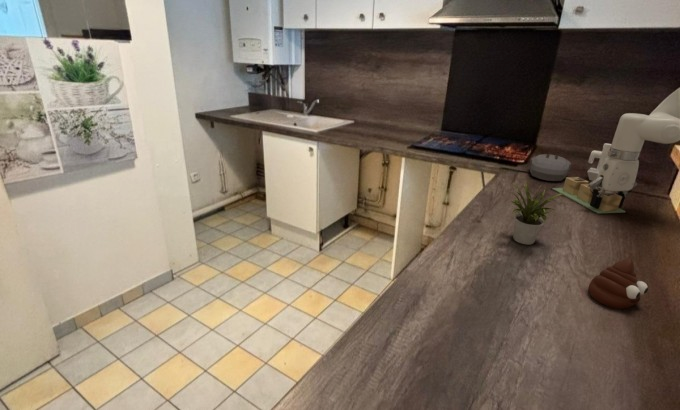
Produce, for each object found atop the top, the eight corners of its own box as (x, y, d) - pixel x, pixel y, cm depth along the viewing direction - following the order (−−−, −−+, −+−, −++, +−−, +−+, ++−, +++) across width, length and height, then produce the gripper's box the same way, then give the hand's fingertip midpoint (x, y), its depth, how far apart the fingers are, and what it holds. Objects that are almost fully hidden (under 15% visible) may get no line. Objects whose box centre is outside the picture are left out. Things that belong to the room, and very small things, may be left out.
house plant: (480, 236, 99) (492, 180, 92) (505, 222, 107) (517, 170, 101) (533, 258, 89) (550, 197, 82) (556, 241, 97) (572, 185, 91)
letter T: (604, 204, 121) (609, 190, 118) (617, 210, 116) (622, 196, 114) (591, 205, 120) (596, 190, 118) (603, 211, 115) (608, 196, 113)
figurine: (585, 175, 151) (596, 140, 145) (612, 180, 145) (624, 144, 139) (581, 179, 146) (592, 143, 140) (609, 185, 140) (621, 147, 134)
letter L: (574, 189, 133) (578, 176, 131) (584, 194, 129) (589, 181, 127) (562, 190, 133) (566, 176, 131) (572, 195, 128) (576, 181, 126)
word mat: (575, 188, 136) (576, 187, 136) (625, 212, 116) (625, 211, 116) (551, 189, 135) (552, 188, 134) (597, 213, 115) (598, 212, 115)
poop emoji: (604, 280, 81) (617, 244, 77) (648, 302, 74) (665, 264, 70) (578, 292, 76) (591, 255, 73) (622, 317, 70) (639, 277, 66)
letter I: (589, 196, 127) (593, 183, 125) (600, 202, 122) (605, 188, 120) (576, 197, 126) (580, 183, 124) (587, 203, 122) (592, 188, 120)
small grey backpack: (529, 166, 161) (524, 178, 145) (534, 148, 157) (529, 158, 142) (568, 172, 154) (567, 186, 138) (573, 153, 150) (573, 165, 135)
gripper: (608, 158, 106) (590, 212, 113) (659, 157, 108) (638, 210, 115) (588, 152, 113) (573, 203, 120) (637, 151, 115) (619, 201, 122)
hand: (605, 206), depth 118 cm, fingers open, 7 cm apart
